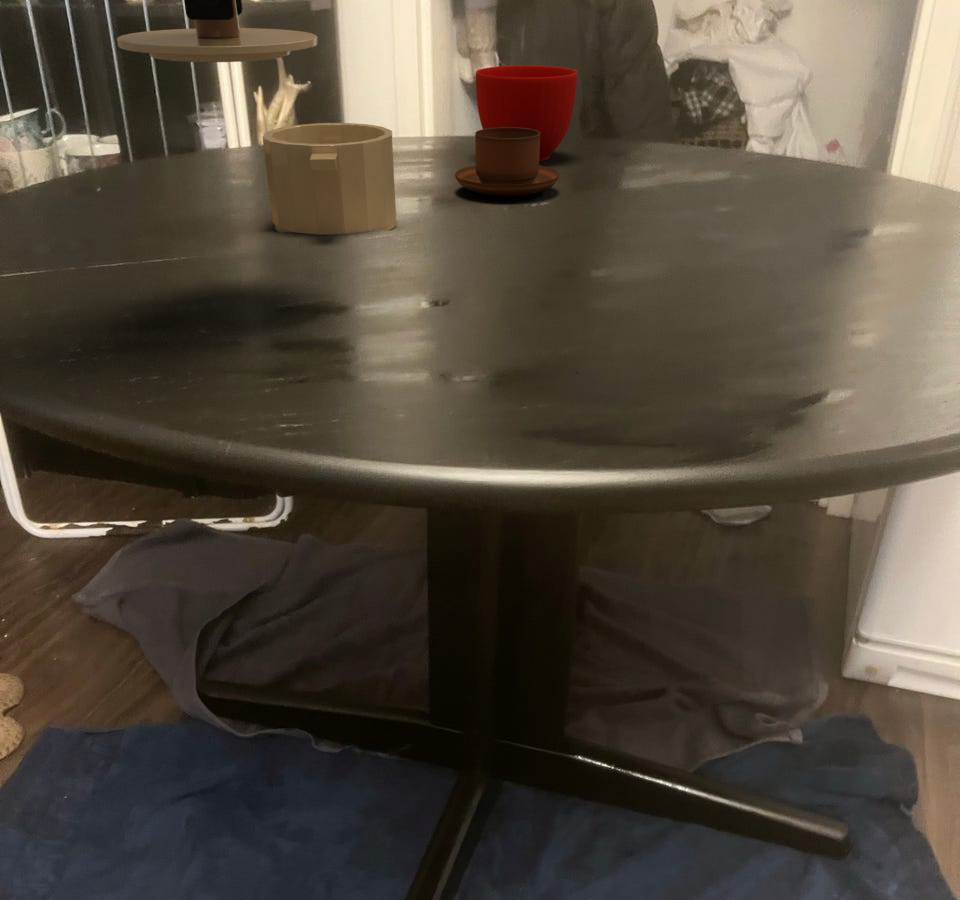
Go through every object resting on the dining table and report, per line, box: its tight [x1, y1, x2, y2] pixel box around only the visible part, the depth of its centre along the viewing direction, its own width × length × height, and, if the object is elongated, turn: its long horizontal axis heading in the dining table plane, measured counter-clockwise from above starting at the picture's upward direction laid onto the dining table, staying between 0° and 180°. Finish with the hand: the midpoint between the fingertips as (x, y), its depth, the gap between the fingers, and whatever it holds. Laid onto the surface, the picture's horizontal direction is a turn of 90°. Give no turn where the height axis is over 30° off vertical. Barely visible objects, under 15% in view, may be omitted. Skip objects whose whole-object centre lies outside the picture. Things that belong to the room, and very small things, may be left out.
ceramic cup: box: [475, 65, 578, 162], centre depth 128 cm, size 13×17×10 cm
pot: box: [262, 122, 397, 236], centre depth 99 cm, size 13×18×8 cm
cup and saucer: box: [454, 127, 560, 197], centre depth 112 cm, size 12×12×6 cm
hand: (215, 14), depth 68 cm, fingers closed on lid, 3 cm apart
